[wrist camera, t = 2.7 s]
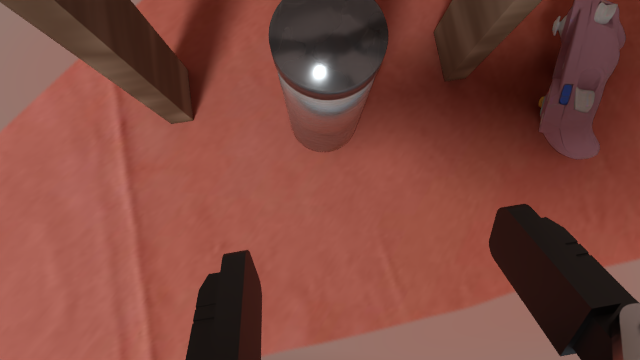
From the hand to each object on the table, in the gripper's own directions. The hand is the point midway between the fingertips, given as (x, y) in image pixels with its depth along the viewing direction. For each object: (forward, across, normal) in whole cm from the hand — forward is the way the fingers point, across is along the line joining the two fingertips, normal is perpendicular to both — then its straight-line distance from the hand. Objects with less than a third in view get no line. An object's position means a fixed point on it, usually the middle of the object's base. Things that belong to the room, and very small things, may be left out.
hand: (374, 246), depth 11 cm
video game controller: (+15, -18, +4) cm, 23 cm away
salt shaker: (+15, 0, +3) cm, 15 cm away
